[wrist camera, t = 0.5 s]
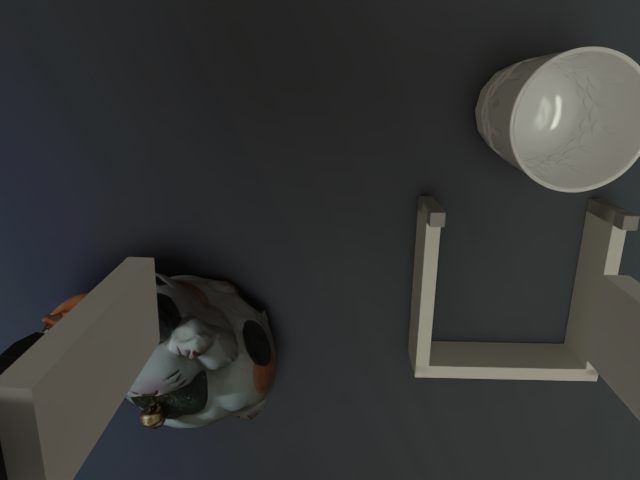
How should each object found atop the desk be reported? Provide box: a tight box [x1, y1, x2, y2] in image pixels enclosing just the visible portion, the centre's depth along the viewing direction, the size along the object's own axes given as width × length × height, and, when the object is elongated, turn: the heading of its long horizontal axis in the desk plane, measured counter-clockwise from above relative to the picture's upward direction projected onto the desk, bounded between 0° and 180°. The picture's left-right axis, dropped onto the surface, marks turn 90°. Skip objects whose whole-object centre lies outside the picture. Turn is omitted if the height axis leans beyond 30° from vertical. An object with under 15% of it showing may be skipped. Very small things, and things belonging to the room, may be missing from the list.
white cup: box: [475, 47, 640, 192], centre depth 34 cm, size 8×8×10 cm
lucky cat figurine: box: [39, 273, 276, 429], centre depth 39 cm, size 15×12×14 cm
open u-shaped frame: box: [408, 196, 640, 381], centre depth 40 cm, size 14×14×5 cm
